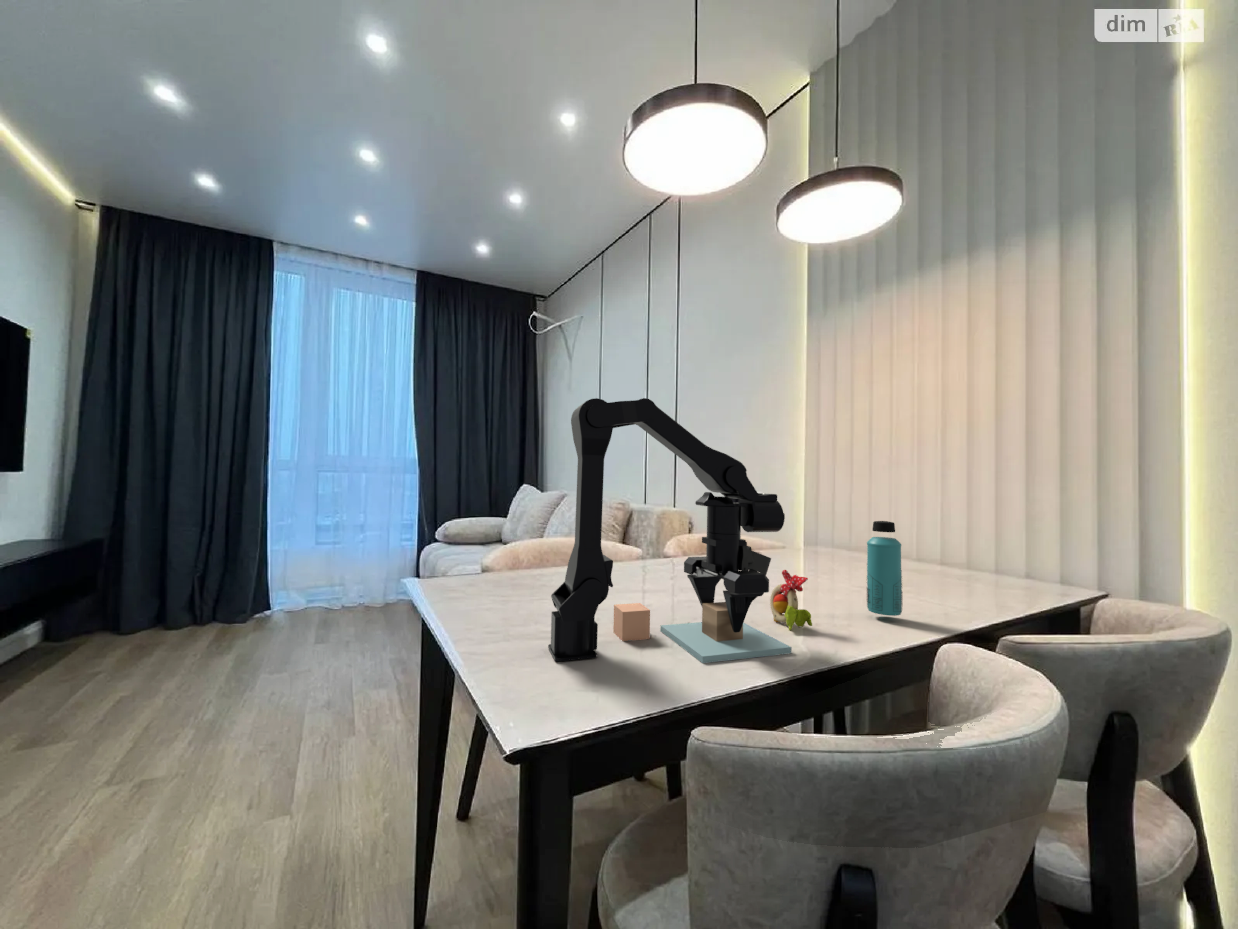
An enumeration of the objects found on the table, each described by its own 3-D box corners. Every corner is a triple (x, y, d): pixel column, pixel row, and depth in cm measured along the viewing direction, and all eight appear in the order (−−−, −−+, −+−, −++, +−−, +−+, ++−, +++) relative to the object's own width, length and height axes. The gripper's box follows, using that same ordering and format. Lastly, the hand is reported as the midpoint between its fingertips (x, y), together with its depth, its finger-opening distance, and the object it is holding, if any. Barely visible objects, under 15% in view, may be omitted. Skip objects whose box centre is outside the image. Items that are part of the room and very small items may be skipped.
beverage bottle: (909, 624, 96) (909, 522, 97) (875, 623, 96) (876, 522, 97) (891, 614, 103) (891, 520, 103) (859, 614, 103) (860, 519, 103)
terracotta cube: (622, 641, 82) (622, 612, 82) (613, 632, 87) (613, 604, 87) (649, 639, 84) (650, 610, 84) (639, 630, 88) (640, 603, 89)
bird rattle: (764, 635, 94) (796, 628, 86) (750, 577, 98) (780, 566, 91) (789, 632, 96) (823, 625, 89) (775, 576, 101) (805, 565, 93)
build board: (702, 663, 73) (702, 656, 73) (660, 630, 88) (660, 625, 88) (791, 653, 78) (791, 647, 78) (737, 624, 93) (737, 619, 93)
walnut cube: (716, 641, 80) (717, 611, 80) (701, 632, 85) (702, 603, 85) (742, 639, 81) (743, 609, 82) (727, 630, 86) (727, 601, 86)
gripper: (798, 538, 77) (797, 637, 77) (734, 526, 95) (733, 607, 94) (737, 539, 74) (735, 643, 73) (683, 527, 91) (681, 610, 91)
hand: (722, 623), depth 83 cm, fingers open, 9 cm apart
